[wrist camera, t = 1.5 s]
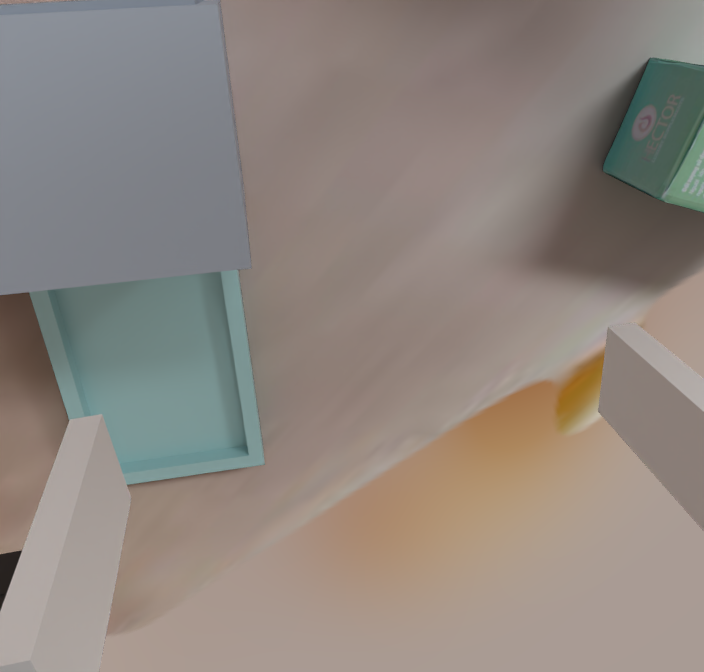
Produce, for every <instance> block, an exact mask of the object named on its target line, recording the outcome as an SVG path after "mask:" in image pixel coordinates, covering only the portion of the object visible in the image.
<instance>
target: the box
mask: <svg viewBox="0 0 704 672" xmlns="http://www.w3.org/2000/svg"><path fill="white" fill-rule="evenodd" d="M603 172H605V173H607V174H609V175H610V176H612V177H614V178H616V179H618V180H620V181H622V182H624V183H626V184H628V185H630V186H632V187H634V188H636V189H638V190H640V191H642V192H644V193H646V194H648V195H650V196H652V197H654V198H656V199H659V200H661V201H664V202H667V203H671V204H674V205H678V206H681V207H685V208H689V209H692V210H696V211H699V212H703V213H704V65H697V64H690V63H685V62H679V61H674V60H667V59H659V58H650V60H649V62H648V64H647V67H646V69H645V72H644V74H643V76H642V79H641V81H640V83H639V86H638V88H637V90H636V93H635V95H634V97H633V100H632V102H631V104H630V106H629V109H628V111H627V113H626V116H625V118H624V120H623V122H622V125H621V127H620V129H619V131H618V133H617V136H616V138H615V140H614V142H613V145H612V147H611V149H610V151H609V153H608V155H607V157H606V160H605V162H604V165H603Z"/></svg>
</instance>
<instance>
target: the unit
mask: <svg viewBox="0 0 704 672" xmlns="http://www.w3.org/2000/svg"><path fill="white" fill-rule="evenodd" d="M249 268H252V267H251V257H250V247H249V236H248V226H247V215H246V205H245V195H244V185H243V177H242V169H241V161H240V154H239V146H238V138H237V130H236V122H235V114H234V107H233V99H232V91H231V83H230V75H229V67H228V59H227V52H226V44H225V36H224V28H223V20H222V12H221V5H220V0H79V1H59V2H40V3H21V4H2V5H0V295H7V294H17V293H26V292H35V291H45V290H54V289H63V288H73V287H82V286H91V285H100V284H110V283H119V282H128V281H138V280H147V279H156V278H166V277H175V276H184V275H194V274H203V273H212V272H222V271H231V270H240V269H249Z"/></svg>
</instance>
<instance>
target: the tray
mask: <svg viewBox="0 0 704 672" xmlns="http://www.w3.org/2000/svg"><path fill="white" fill-rule="evenodd" d="M29 294H30V297H31V300H32V303H33V307H34V310H35V313H36V316H37V319H38V323H39V326H40V329H41V332H42V335H43V338H44V342H45V345H46V348H47V351H48V354H49V358H50V361H51V364H52V367H53V370H54V373H55V377H56V380H57V383H58V386H59V389H60V393H61V396H62V399H63V402H64V405H65V408H66V412H67V415H68V418H69V420H70V419H76V418H82V417H87V416H93V415H99V414H102V415H103V418H104V421H105V424H106V427H107V430H108V432H109V435H110V438H111V441H112V444H113V447H114V450H115V453H116V455H117V458H118V461H119V464H120V467H121V470H122V473H123V476H124V478H125V481H126V484H127V485H129V484H136V483H143V482H150V481H156V480H163V479H170V478H177V477H184V476H190V475H197V474H204V473H211V472H218V471H224V470H231V469H238V468H245V467H252V466H258V465H265V462H264V450H263V442H262V435H261V428H260V421H259V413H258V406H257V399H256V392H255V385H254V378H253V371H252V364H251V356H250V349H249V342H248V335H247V328H246V321H245V314H244V307H243V299H242V292H241V285H240V278H239V271H238V270H231V271H222V272H212V273H203V274H194V275H184V276H175V277H166V278H156V279H147V280H138V281H128V282H119V283H110V284H100V285H91V286H82V287H73V288H63V289H54V290H45V291H35V292H29Z"/></svg>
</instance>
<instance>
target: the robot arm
mask: <svg viewBox="0 0 704 672" xmlns="http://www.w3.org/2000/svg"><path fill="white" fill-rule="evenodd" d="M598 412H599V413H600V414H601V415H602V416H603V417H604V419H605V420H606V421H607V422H608V423H609V424H610V425H611V426H612V428H613V429H614V430H615V431H616V432H617V433H618V435H619V436H620V437H621V438H622V439H623V440H624V441H625V442H626V444H627V445H628V446H629V447H630V448H631V449H632V450H633V452H634V453H635V454H636V455H637V456H638V457H639V458H640V459H641V461H642V462H643V463H644V464H645V465H646V466H647V467H648V469H650V471H651V472H652V473H653V474H654V475H655V476H656V478H657V479H658V480H659V481H660V482H661V483H662V484H663V485H664V487H665V488H666V489H667V490H668V491H669V492H670V494H672V496H673V497H674V498H675V499H676V500H677V501H678V503H679V504H680V505H681V506H682V507H683V508H684V509H685V511H686V512H687V513H688V514H689V515H690V516H691V517H692V519H693V520H694V521H695V522H696V523H697V524H698V525H699V526H700V528H701V529H702V530H703V531H704V378H703V377H701V376H700V375H699V374H698V373H696V372H695V371H694V370H693V369H691V368H690V367H689V366H688V365H687V364H685V363H684V362H683V361H682V360H680V359H679V358H678V357H677V356H676V355H674V354H673V353H672V352H671V351H669V350H668V349H667V348H665V347H664V346H663V345H662V344H661V343H659V342H658V341H657V340H656V339H655V338H653V337H652V336H651V335H650V334H648V333H647V332H646V331H645V330H644V329H642V328H641V327H640V326H639V325H637V324H636V323H635V322H634V323H628V324H622V325H617V326H611V327H608V330H607V339H606V347H605V356H604V365H603V373H602V382H601V391H600V400H599V408H598ZM130 503H131V496H130V493H129V490H128V487H127V484H126V481H125V478H124V476H123V473H122V470H121V467H120V464H119V461H118V458H117V455H116V453H115V450H114V447H113V444H112V441H111V438H110V435H109V432H108V430H107V427H106V424H105V421H104V418H103V415H102V414H99V415H93V416H87V417H82V418H76V419H70V420H69V423H68V426H67V429H66V431H65V434H64V437H63V440H62V442H61V445H60V448H59V451H58V453H57V456H56V459H55V462H54V465H53V467H52V470H51V473H50V476H49V478H48V481H47V484H46V487H45V489H44V492H43V495H42V498H41V500H40V503H39V506H38V509H37V511H36V514H35V517H34V520H33V522H32V525H31V528H30V531H29V533H28V536H27V539H26V542H25V544H24V547H23V550H22V551H16V552H11V553H6V554H1V555H0V672H99V670H100V665H101V659H102V654H103V649H104V643H105V638H106V632H107V627H108V622H109V616H110V611H111V606H112V600H113V595H114V589H115V584H116V579H117V573H118V568H119V562H120V557H121V552H122V546H123V541H124V536H125V530H126V525H127V519H128V514H129V509H130Z"/></svg>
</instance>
